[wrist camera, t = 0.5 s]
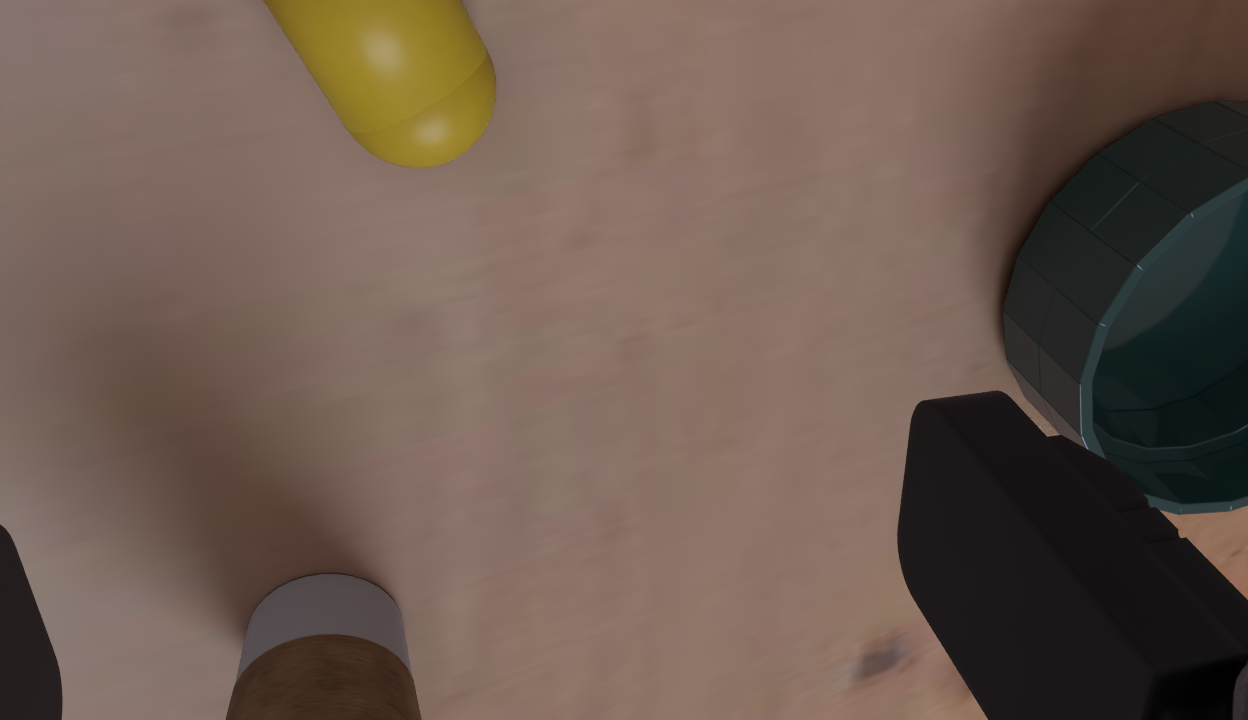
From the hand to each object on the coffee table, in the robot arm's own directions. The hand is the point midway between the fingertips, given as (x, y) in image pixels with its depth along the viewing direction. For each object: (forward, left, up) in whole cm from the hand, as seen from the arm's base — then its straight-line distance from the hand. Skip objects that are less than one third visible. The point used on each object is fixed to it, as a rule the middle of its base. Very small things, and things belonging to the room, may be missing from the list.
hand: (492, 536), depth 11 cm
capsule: (+1, -1, -27) cm, 27 cm away
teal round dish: (+11, +29, -27) cm, 41 cm away
